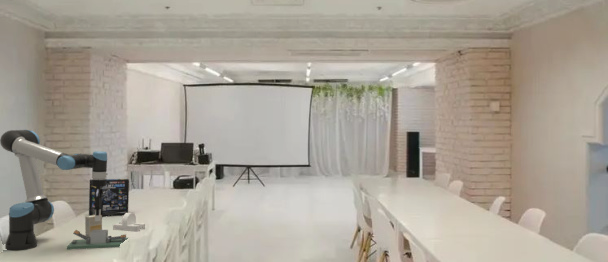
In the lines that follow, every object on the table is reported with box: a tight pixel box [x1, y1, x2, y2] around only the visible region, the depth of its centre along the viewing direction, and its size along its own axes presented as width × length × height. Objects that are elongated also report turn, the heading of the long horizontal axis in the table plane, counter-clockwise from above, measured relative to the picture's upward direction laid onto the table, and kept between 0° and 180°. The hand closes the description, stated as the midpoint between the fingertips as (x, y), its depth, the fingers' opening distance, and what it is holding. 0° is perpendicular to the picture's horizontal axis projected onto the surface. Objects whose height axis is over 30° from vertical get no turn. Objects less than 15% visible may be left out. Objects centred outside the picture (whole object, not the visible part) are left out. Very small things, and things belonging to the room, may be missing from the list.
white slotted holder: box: [112, 212, 146, 232], centre depth 319 cm, size 10×18×11 cm, turn 75°
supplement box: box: [84, 215, 103, 237], centre depth 295 cm, size 8×5×13 cm, turn 141°
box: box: [88, 178, 130, 218], centre depth 363 cm, size 27×7×27 cm, turn 115°
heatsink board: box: [66, 229, 129, 250], centre depth 278 cm, size 30×16×8 cm, turn 104°
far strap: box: [107, 233, 127, 240], centre depth 281 cm, size 10×5×2 cm, turn 104°
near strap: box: [73, 229, 90, 240], centre depth 276 cm, size 10×5×2 cm
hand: (97, 220), depth 278 cm, fingers closed
